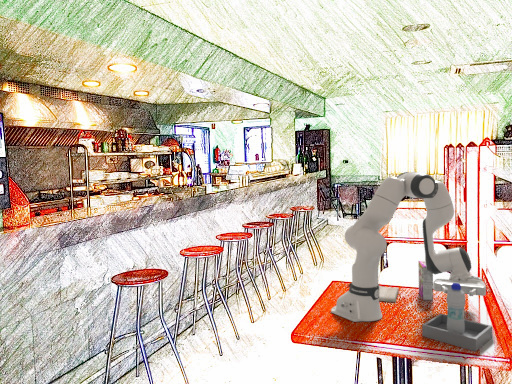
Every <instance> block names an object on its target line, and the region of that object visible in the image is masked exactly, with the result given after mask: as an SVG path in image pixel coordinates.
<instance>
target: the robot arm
mask: <svg viewBox="0 0 512 384" xmlns="http://www.w3.org/2000/svg"><path fill="white" fill-rule="evenodd" d="M405 197H410V198H416V199H422V200H423V202H424V206H425V210H426V217H425V218H424V219H423V221H422V236H423V237H422V238H423V246H424V255H425V256H424V257H425V258H424V261H425V265H426V268H427V270H428V271H429V272H431V273H433V275H439V274H442V273H446V272H450V275H449V278H447V279H446V278H436V279H434V280H433V291H435V292H440V293H441V292H442V293H444V294H447V293H448V290H451V285H452V284H453V283H458V284H460V285H461V290H462V291H463V292H464V293H465V295H468V296H470V297H474V296H481V297H482V296H483V297H484V296H487V285H486V283H485V282H484V281H483V278H482V277H479V276H474V275H472V274H471V271H472V263H471V262H472V261H471V258H470V256H469V253H468V251H466V250H465V249H463V248H462V247H460V246H459V247H455V248H454V247H453V248H448V249H443V250H438V251H437V250H436V249H435V245H434V234H435V233H436V231H438V230H440V229H441V228H442V227H444V226H446V225H447V224H448V223H450V222H451V221H452V219H453V218H454V215H455V210H454V205H453V200H452V198H451V195H450V193H449V191H448V188H447V186H446V184H445V183H444V182H443V181H440V180H435V179H434V177H432V176H431V175H429V174H428V173H426V172H425V173H424V172H423V173H421V172H417V171H405V172H403V173H400V174H398V175H397V176H387V177H386V178H385V179H383V181H382V182H381V184H380V185H379V186H378V188H377V190H376V191H375V192H374V194H373V196H372V198H371V199H370V200H371V201H370V202H369V204H368V205H367V207H366V209H365V210H364V212H363V213H362V215H361V216H360V217H359V218H358V219H357V221H356V222H355V223H354V224H353V225H351V226H349V227H348V228H346V231H345V232H344V240H345V242H346V244H347V245H348V246H349V247H350V248H351V249H353V250H355V251H356V257H355V262H354V263H353V264H352V265H351V266H352V267H351V273H352V274H351V283H349V284H346V286H347V287H346V288H349V289H348V290H347V291H346V292H345V293H343V294H342V295H340V296H339V297H338V298H337V300H336V303H335V304H336V305H334V306H333V307H332V308H331V309H330V310H331V311H330V313H331V314H333V315H334V314H335V315H337V316H338V317H342V318H344V319H346V320H349V321H351V322H375V321H379V320H381V319H382V318H383V314H382V310H381V305H380V301H379V286H380V284H379V265H380V262H381V259H382V258H381V257H382V255H383V254H384V253H385V252H386V250H387V246H388V245H387V240H386V238H385V237H384V236H383V234H381V233H380V230H381V229H382V228H383V227H385V226H387V225H388V224H389V223H390V222H391V220H392V218H393V216H394V214H395V213H396V211H397V208H398V207H399V205H400V203H401V201H402V200H403V198H405Z"/></svg>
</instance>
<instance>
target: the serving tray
mask: <svg viewBox="0 0 512 384" xmlns="http://www.w3.org/2000/svg"><path fill="white" fill-rule="evenodd" d="M464 324H465V331H464V333H463V335H462V334H459V333H455V332H451V331H447V314H444V313H439V314H437V315H436V316H434V317H432V318H431V319H429V320H428V321H426V322H424V323H423V324H422V325H421V326H422V332H421V335H422V337H424V338H427V339H431V340H435V341H438V342H442V343H445V344H449V345H453V346H456V347H459V348H462V349H466V350H470V351H473V352H477V351H478V350H479V349H481V348H482V347H483V346H484V345H485V344H487V342H489V341H490V340H491V339H492V338H493V326H492V325H490V324H485V323H481V322H478V321H473V320H469V319H465V318H464Z"/></svg>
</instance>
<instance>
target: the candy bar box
mask: <svg viewBox="0 0 512 384" xmlns="http://www.w3.org/2000/svg"><path fill="white" fill-rule="evenodd" d="M417 266H418V294H419V295H420V297H421V299H422V301H433V300H434V290H433V282H434V278H433V277H434V276H433V275H434V274H433V273H431V272H429V271H428V270H427V268H426V265H425V260H418V265H417Z"/></svg>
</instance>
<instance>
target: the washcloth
mask: <svg viewBox="0 0 512 384" xmlns="http://www.w3.org/2000/svg"><path fill="white" fill-rule="evenodd" d="M399 292H400V288H398V287H388V286H380V285H379V302H387V303H388V302H389V303H397V298H398V294H399Z"/></svg>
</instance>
